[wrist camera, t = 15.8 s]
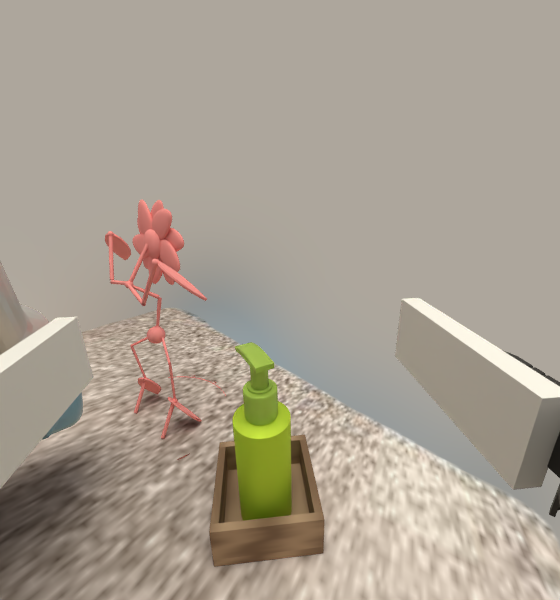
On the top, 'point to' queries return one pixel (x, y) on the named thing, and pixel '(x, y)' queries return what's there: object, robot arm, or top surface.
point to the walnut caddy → (267, 531)
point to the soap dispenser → (262, 442)
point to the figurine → (154, 280)
